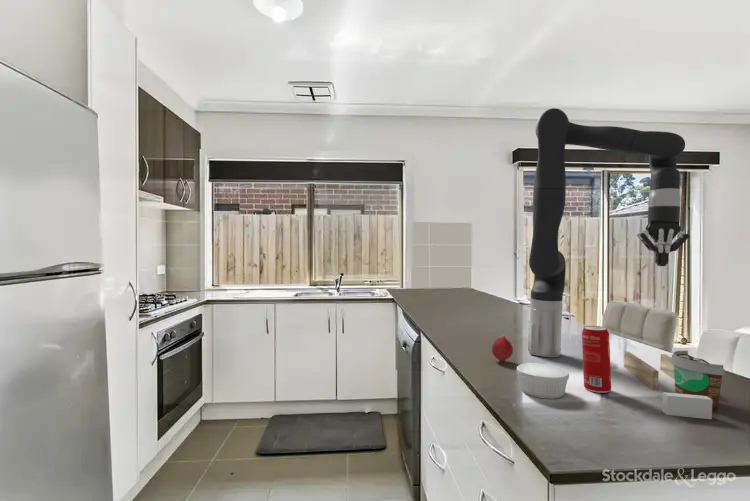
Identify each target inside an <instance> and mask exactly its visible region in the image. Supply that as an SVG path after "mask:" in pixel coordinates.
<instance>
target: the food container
mask: <svg viewBox="0 0 750 501" xmlns="http://www.w3.org/2000/svg"><path fill="white" fill-rule="evenodd" d="M670 357H671V360H670V362H671V363H672V364H674V379H673V380H674V393H678V394H689V395H700V396H707V397H709V398H711V399H712V411H719V405H720V404H719V403H720V394H721V388H722V381H723V376H725V368H724V364H717V363H716V364H714V363H710V362H708V361H707V360H705V359H702V358H697V357H694V356H692V355H689V351H688V350H676V351H674V352H673V354H672V355H671V356H670Z"/></svg>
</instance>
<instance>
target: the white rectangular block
mask: <svg viewBox="0 0 750 501" xmlns="http://www.w3.org/2000/svg"><path fill="white" fill-rule="evenodd" d="M661 410H662V413H664V414H665V415H666V416H673V417H674V416H675V417H683V418H684V417H685V418H686V417H687V418H695V419H703V420H704V419H705V420H712V417H713V410H712V399H711V398H709V397H707V396H700V395H689V394H678V393H675V392H666V391H663V392H662V408H661Z"/></svg>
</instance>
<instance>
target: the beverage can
mask: <svg viewBox="0 0 750 501" xmlns="http://www.w3.org/2000/svg"><path fill="white" fill-rule="evenodd" d="M581 343H582V344H581V345H582V366H583V367H582V368H583V370H582V371H583V374H582V375H583V387H584V388H585V389H586V390H587V391H590V392H592V393H593V392H594V393H598V394H599V393H600V394H601V393H602V394H603V393H604V394H605V393H610V392H611V391H612V374H611V369H612V368H611V348H610V345H611V344H610V343H611V342H610V332H609V330H608V327H605V326H601V325H584V326H583V328H582V331H581Z"/></svg>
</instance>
